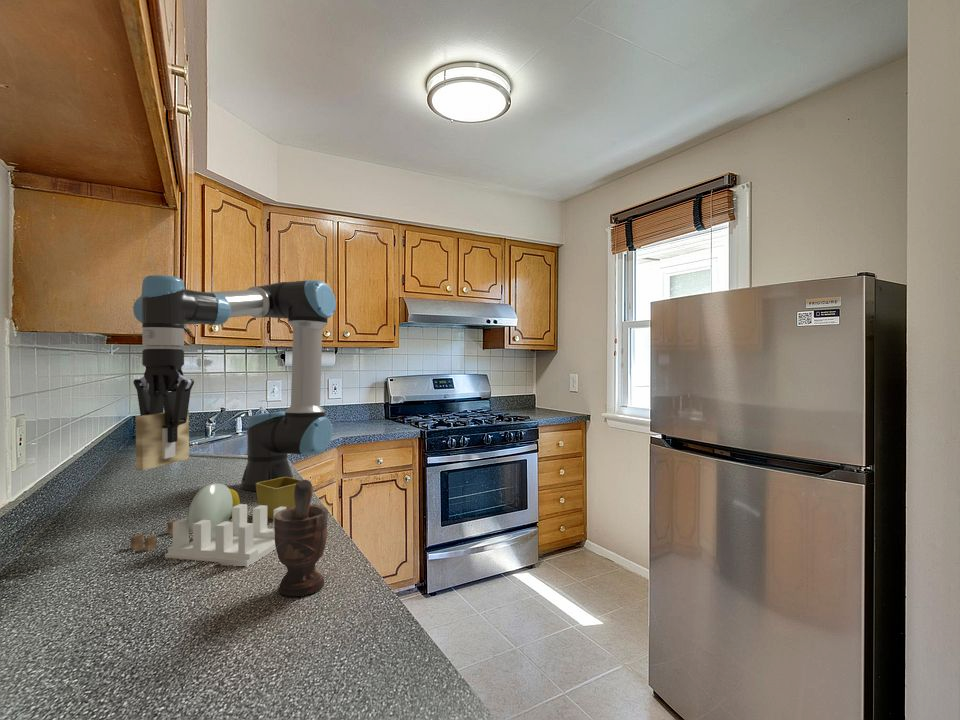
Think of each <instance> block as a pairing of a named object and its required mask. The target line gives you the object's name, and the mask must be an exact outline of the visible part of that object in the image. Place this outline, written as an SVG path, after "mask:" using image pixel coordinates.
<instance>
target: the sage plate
mask: <svg viewBox="0 0 960 720" xmlns="http://www.w3.org/2000/svg"><path fill="white" fill-rule="evenodd" d="M228 488H229V487H228V486H226V485H225V484H223V483H215V482H214V483H213V482H212V483H208V484H205V485H204V486H202V487H201V488H200V489H199V490H198V491H197V492H196V494H195V495H194V496H193V499H192V500H191V502H190V506H189V509H188V514H187V519H188V524H189V528H190V531H191V532H190V533H191V534H192V535H193V524H194V523H197V522H199V521H201V520H211V538H213V537H215V536H216V525H218V524H220V523H222V522H225V521H227V522H230V521H229V520H230V519H231V517H230V516H231V512H232V506H233V500H232V495H231V492H230V490H229V489H228Z"/></svg>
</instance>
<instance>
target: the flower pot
mask: <svg viewBox="0 0 960 720" xmlns="http://www.w3.org/2000/svg"><path fill="white" fill-rule="evenodd" d="M301 480H302V479H299V478H295V477H293V478H290V477H281V478H277V479H272V480H268V481H263V482H258V483H256V491H255V492H256V498H257V504H258V506H259V505H265V506H267V519H271V520H274V509H276V508H278V507H280V506H281V507H286V508H289V507H294V506H296V505H295V499H294V491H295V486H296V484H297V483H298V482H299V481H301Z"/></svg>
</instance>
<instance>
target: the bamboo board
mask: <svg viewBox="0 0 960 720" xmlns="http://www.w3.org/2000/svg"><path fill="white" fill-rule="evenodd" d="M172 421H173V420H172ZM164 425H165V414H164V412H163V413H158V414H150V415H143V416H140V415H138V416H137V415H136V416H135V471H138V472H139V471H142V472H143V471H146V470H150V469H155V468H158V467H159V468H160V467H161V466H166V465H170V464H174V463H177V462H181V461H184V460H188V459H190V410H189V409H188V414H187V421H186V423H184V424H181V425H179V426H178V434H177V435H178V436H177V437H178V439H177V441H176V442H175V456H174V457H170V458H166V459H162V428H163V426H164Z"/></svg>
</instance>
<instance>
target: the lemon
mask: <svg viewBox="0 0 960 720" xmlns="http://www.w3.org/2000/svg"><path fill="white" fill-rule="evenodd" d="M228 489H229V490H230V492H231V495H232V500H233V506H232V507H234V506H236V505H239V504H241V502H240V496H239V493H238V492H237V491H236V490H235V489H233V488H230V487H228ZM230 518H232V512H231V516H230Z"/></svg>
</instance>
